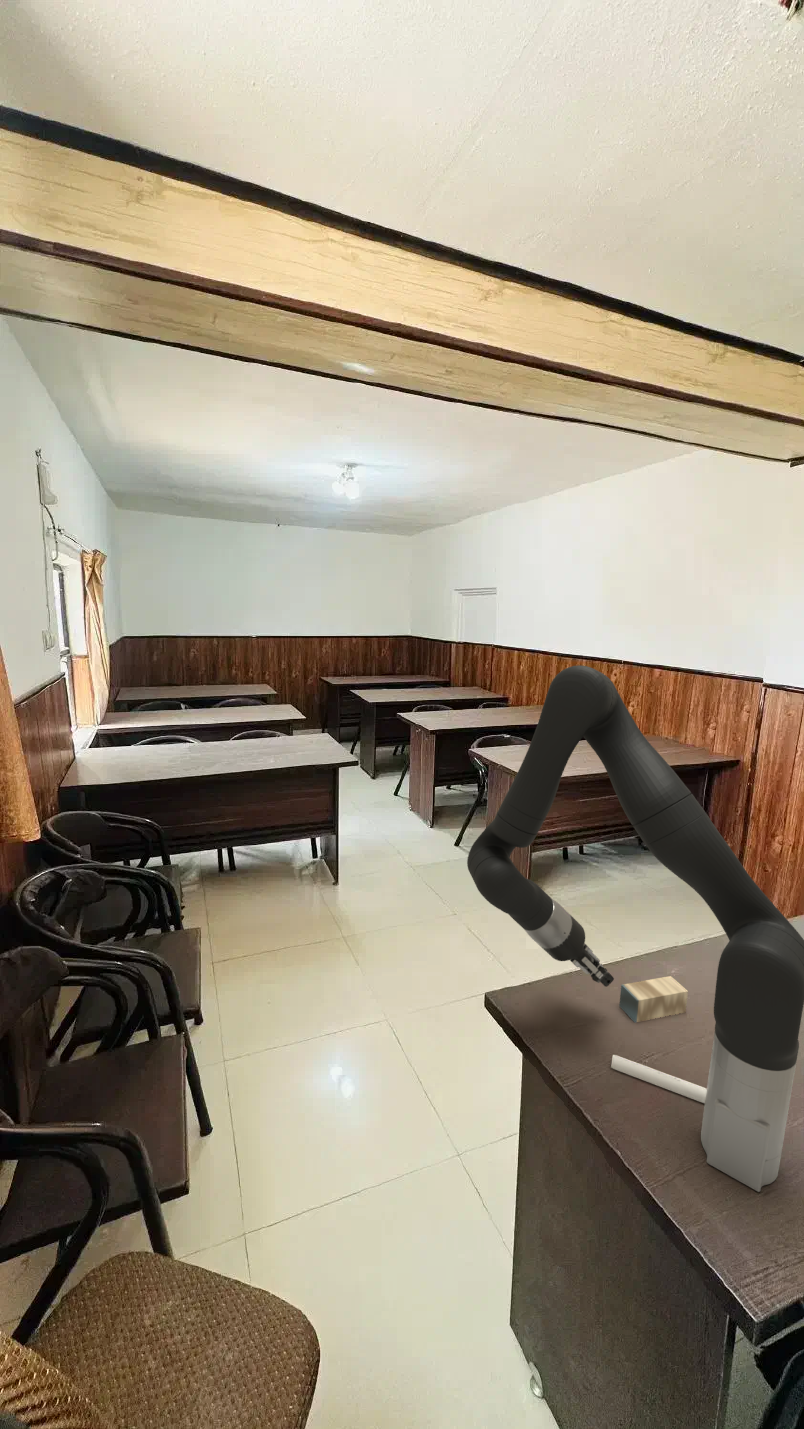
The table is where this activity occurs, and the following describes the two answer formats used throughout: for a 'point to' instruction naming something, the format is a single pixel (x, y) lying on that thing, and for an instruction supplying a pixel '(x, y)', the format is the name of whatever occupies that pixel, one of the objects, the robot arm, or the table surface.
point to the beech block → (653, 998)
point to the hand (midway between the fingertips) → (608, 980)
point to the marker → (659, 1078)
